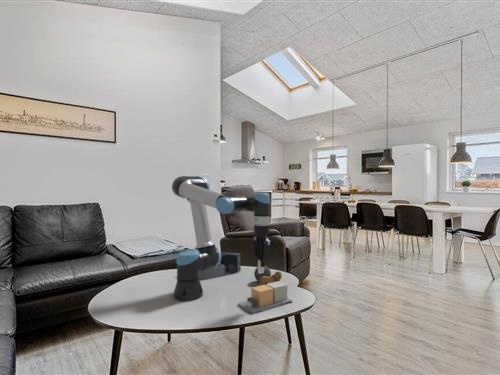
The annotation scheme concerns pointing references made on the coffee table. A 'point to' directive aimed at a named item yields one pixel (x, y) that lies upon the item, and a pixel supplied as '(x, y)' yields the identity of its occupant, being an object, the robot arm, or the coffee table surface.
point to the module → (262, 295)
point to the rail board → (254, 310)
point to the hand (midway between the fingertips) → (260, 272)
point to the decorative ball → (266, 273)
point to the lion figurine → (270, 278)
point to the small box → (231, 261)
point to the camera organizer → (212, 272)
